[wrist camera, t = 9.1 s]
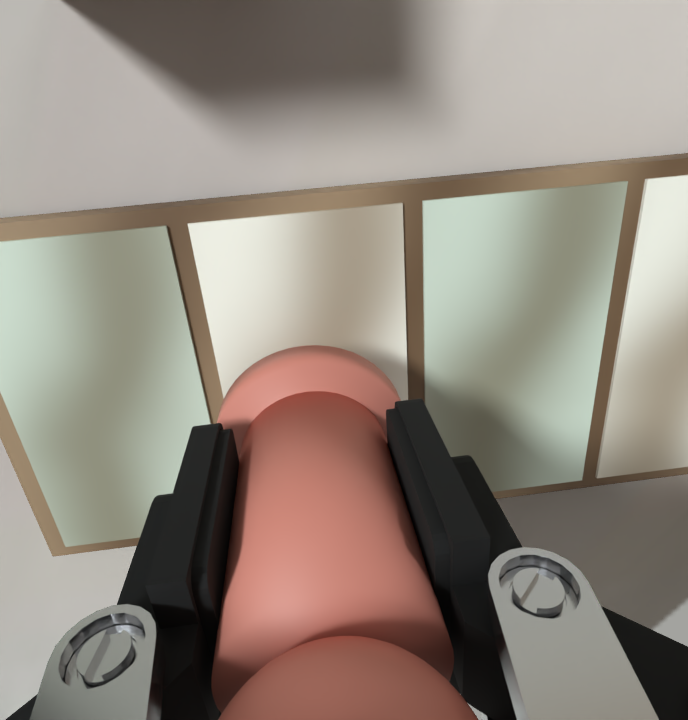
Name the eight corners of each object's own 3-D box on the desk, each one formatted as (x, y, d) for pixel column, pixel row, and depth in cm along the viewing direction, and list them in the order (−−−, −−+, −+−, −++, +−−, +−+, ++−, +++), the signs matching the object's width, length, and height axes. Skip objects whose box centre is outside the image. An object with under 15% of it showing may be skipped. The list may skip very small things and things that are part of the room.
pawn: (401, 334, 11) (716, 913, 3) (406, 491, 13) (609, 1109, 5) (200, 357, 11) (-44, 1059, 3) (235, 514, 13) (149, 1207, 5)
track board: (830, 139, 14) (869, 141, 13) (736, 449, 18) (759, 466, 17) (-66, 224, 12) (-94, 233, 12) (64, 535, 17) (51, 558, 16)
